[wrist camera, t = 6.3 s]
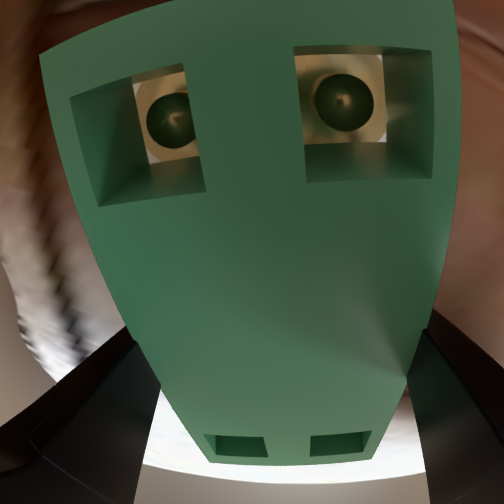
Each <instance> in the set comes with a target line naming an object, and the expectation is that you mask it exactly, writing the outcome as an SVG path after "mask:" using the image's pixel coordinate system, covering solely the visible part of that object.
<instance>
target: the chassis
mask: <svg viewBox="0 0 504 504" xmlns="http://www.w3.org/2000/svg"><path fill="white" fill-rule="evenodd" d="M294 58H295V66H296V74H297V82H298V91H299V100H300V110H301V120H302V130H303V141H304V145H310V144H328V143H354V142H386V109H385V89H384V75H383V63H382V55H363V54H326V55H302V56H294ZM133 89H134V94H135V99H136V104H137V109H138V114H139V119H140V124H141V128H142V133H143V138H144V142H145V146H146V151H147V155H148V159H149V164H152V163H157V162H163V161H169V160H175V159H182V158H188V157H195V156H199V151H198V145H197V140H196V135H195V129H194V124H193V118H192V113H191V107H190V101H189V96H188V90H187V84H186V78H185V72H180V73H175V74H171V75H167V76H163V77H159V78H155V79H151V80H147V81H143V82H140V83H136V84H133Z"/></svg>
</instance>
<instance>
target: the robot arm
mask: <svg viewBox="0 0 504 504" xmlns="http://www.w3.org/2000/svg"><path fill="white" fill-rule="evenodd" d="M406 379H407V384H408V388H409V392H410V396H411V400H412V405H413V409H414V413H415V418H416V422H417V427H418V432H419V437H420V442H421V447H422V453H423V458H424V464H425V470H426V476H427V482H428V489H429V497H430V504H504V368H503V367H502V366H501V365H499V364H498V363H497V362H496V361H495V360H494V359H493V358H492V357H491V356H489V355H488V354H487V353H486V352H485V351H484V350H483V349H481V348H480V347H479V346H478V345H477V344H476V343H475V342H473V341H472V340H471V339H470V338H469V337H468V336H466V335H465V334H464V333H463V332H462V331H460V330H459V329H458V328H457V327H456V326H454V325H453V324H452V323H451V322H450V321H448V320H447V319H446V318H445V317H444V316H442V315H441V314H440V313H439V312H437V311H436V310H435V309H434V308H432V312H431V315H430V319H429V322H428V325H427V328H425V329H423V330H422V333H421V336H420V339H419V343H418V346H417V349H416V352H415V355H414V357H413V360H412V363H411V366H410V369H409V371H408V374H407V377H406ZM160 389H161V384H160V382H159V380H158V379H157V377H156V375H155V373H154V371H153V370H152V368H151V366H150V364H149V362H148V361H147V359H146V357H145V355H144V353H143V351H142V350H141V348H140V346H139V344H138V342H137V341H136V340H133V338H132V336H131V334H130V332H129V331H128V329H127V327H126V326H125V327H124V328H122V329H121V330H120V331H119V332H117V333H116V334H115V335H114V336H113V337H111V338H110V339H109V340H108V341H107V342H105V343H104V344H103V345H102V346H101V347H99V348H98V349H97V350H96V351H95V352H93V353H92V354H91V355H90V356H89V357H87V358H86V359H85V360H84V361H83V362H81V363H80V364H79V365H78V366H77V367H75V368H74V369H73V370H72V371H71V372H69V373H68V374H67V375H66V376H65V377H63V378H62V379H61V380H60V381H59V382H58V383H57V384H56V385H54V386H53V387H52V388H50V389H49V390H48V391H47V392H46V393H45V394H43V395H42V396H41V397H40V398H38V399H37V400H36V401H35V402H34V403H32V404H31V405H30V406H28V407H27V408H26V409H24V410H23V411H22V412H21V413H19V414H18V415H16V416H15V417H13V418H12V419H11V420H9V421H8V422H7V423H5V424H4V425H2V426H1V427H0V504H133V503H134V498H135V494H136V488H137V484H138V479H139V475H140V470H141V466H142V462H143V458H144V453H145V449H146V445H147V441H148V437H149V432H150V428H151V424H152V420H153V416H154V412H155V409H156V405H157V401H158V397H159V393H160Z"/></svg>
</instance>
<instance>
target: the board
mask: <svg viewBox="0 0 504 504" xmlns="http://www.w3.org/2000/svg"><path fill="white" fill-rule="evenodd" d="M326 54H363V55H382V63H383V75H384V89H385V109H386V142H354V143H328V144H310V145H304V141H303V130H302V120H301V110H300V100H299V91H298V82H297V74H296V66H295V58H294V56H302V55H326ZM39 58H40V65H41V71H42V77H43V83H44V89H45V94H46V99H47V104H48V108H49V113H50V118H51V122H52V126H53V130H54V134H55V138H56V142H57V146H58V150H59V153H60V157H61V161H62V164H63V168H64V171H65V174H66V178H67V181H68V184H69V187H70V190H71V193H72V196H73V199H74V202H75V205H76V208H77V211H78V214H79V217H80V220H81V222H82V225H83V228H84V231H85V233H86V236H87V238H88V241H89V244H90V246H91V249H92V251H93V254H94V256H95V259H96V261H97V263H98V266H99V268H100V271H101V273H102V275H103V277H104V280H105V282H106V284H107V287H108V289H109V291H110V293H111V295H112V298H113V300H114V302H115V304H116V306H117V308H118V310H119V312H120V314H121V316H122V319H123V321H124V323H125V325H126V327H127V329H128V331H129V332H130V334H131V336H132V338H133V340H136V341H137V342H138V344H139V346H140V348H141V350H142V351H143V353H144V355H145V357H146V359H147V361H148V362H149V364H150V366H151V368H152V370H153V371H154V373H155V375H156V377H157V379H158V380H159V382H160V384H161V390H162V392H163V393H164V395H165V397H166V398H167V400H168V402H169V403H170V405H171V406H172V408H173V410H174V411H175V413H176V414H177V416H178V417H179V419H180V420H181V422H182V424H183V425H184V427H185V428H186V430H187V431H188V433H189V434H190V435H191V437H192V438H193V440H194V441H195V443H196V444H197V446H198V447H199V448H200V450H201V451H202V453H203V454H204V455H205V457H206V458H207V459H208V461H209V462H211V463H223V464H238V465H265V466H289V465H316V464H331V463H342V462H352V461H361V460H368V459H372V457H373V455H374V453H375V451H376V449H377V447H378V446H379V444H380V442H381V440H382V438H383V436H384V434H385V432H386V429H387V427H388V425H389V423H390V421H391V419H392V417H393V415H394V412H395V410H396V408H397V406H398V403H399V401H400V399H401V396H402V394H403V392H404V389H405V387H406V384H407V379H406V377H407V374H408V371H409V369H410V366H411V363H412V360H413V357H414V355H415V352H416V349H417V346H418V343H419V339H420V336H421V333H422V330H423V329H425V328H427V325H428V322H429V319H430V315H431V312H432V308H433V305H434V301H435V297H436V294H437V290H438V286H439V282H440V278H441V274H442V269H443V265H444V260H445V256H446V251H447V246H448V241H449V236H450V230H451V224H452V218H453V212H454V205H455V197H456V189H457V180H458V170H459V159H460V143H461V112H462V100H461V69H460V55H459V44H458V34H457V26H456V19H455V12H454V6H453V0H173V1H169V2H166V3H162V4H159V5H155V6H152V7H149V8H146V9H143V10H140V11H137V12H134V13H131V14H128V15H125V16H122V17H120V18H117V19H114V20H112V21H109V22H107V23H104V24H102V25H99V26H97V27H95V28H92V29H90V30H88V31H86V32H83V33H81V34H79V35H77V36H75V37H73V38H71V39H68V40H66V41H64V42H62V43H60V44H58V45H57V46H55V47H53V48H51V49H49V50H47V51H45V52H43V53H42V54H40V55H39ZM180 72H185V78H186V84H187V90H188V96H189V101H190V107H191V113H192V118H193V124H194V129H195V135H196V140H197V145H198V151H199V156H195V157H188V158H182V159H175V160H169V161H163V162H157V163H152V164H149V159H148V155H147V151H146V146H145V142H144V138H143V133H142V128H141V124H140V119H139V114H138V109H137V104H136V99H135V94H134V89H133V84H136V83H140V82H143V81H147V80H151V79H155V78H159V77H163V76H167V75H171V74H175V73H180Z"/></svg>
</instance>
